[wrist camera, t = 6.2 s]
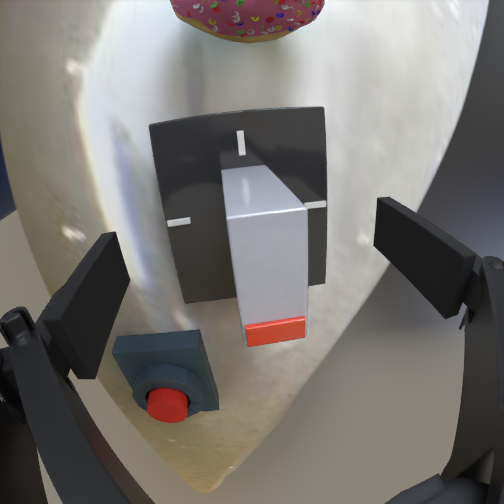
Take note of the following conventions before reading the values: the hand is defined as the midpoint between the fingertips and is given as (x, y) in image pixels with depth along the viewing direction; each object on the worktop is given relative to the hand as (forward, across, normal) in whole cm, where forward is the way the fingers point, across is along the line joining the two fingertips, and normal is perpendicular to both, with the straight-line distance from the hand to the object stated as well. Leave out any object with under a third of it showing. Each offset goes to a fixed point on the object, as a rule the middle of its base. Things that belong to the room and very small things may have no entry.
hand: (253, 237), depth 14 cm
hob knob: (+4, 0, 0) cm, 4 cm away
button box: (+7, -9, -16) cm, 20 cm away
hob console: (+7, 0, 0) cm, 7 cm away
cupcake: (+7, +1, +14) cm, 16 cm away
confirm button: (+3, -9, -16) cm, 19 cm away
